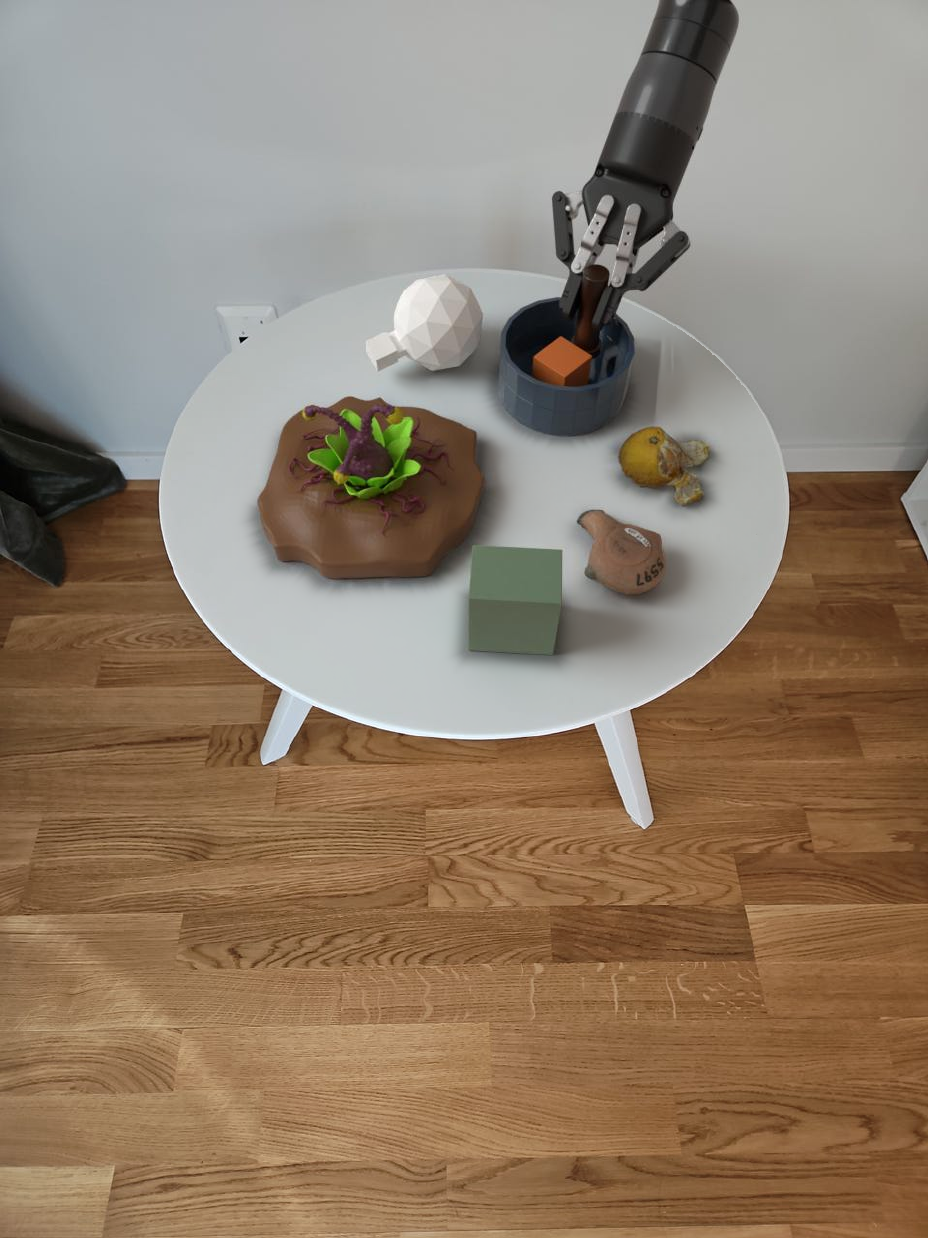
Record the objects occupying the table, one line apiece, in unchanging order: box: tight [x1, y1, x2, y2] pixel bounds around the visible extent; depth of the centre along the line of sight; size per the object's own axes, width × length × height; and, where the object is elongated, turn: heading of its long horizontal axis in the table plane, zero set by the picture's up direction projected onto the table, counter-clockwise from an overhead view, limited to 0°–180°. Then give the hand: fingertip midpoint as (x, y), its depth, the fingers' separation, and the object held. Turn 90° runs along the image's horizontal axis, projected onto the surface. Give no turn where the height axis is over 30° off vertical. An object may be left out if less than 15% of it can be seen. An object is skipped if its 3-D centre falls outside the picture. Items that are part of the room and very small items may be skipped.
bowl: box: [497, 296, 636, 437], centre depth 87 cm, size 13×13×6 cm
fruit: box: [617, 426, 710, 506], centre depth 83 cm, size 8×8×4 cm
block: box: [532, 336, 592, 387], centre depth 87 cm, size 4×4×4 cm
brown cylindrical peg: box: [571, 263, 611, 359], centre depth 85 cm, size 3×3×9 cm
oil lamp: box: [576, 509, 667, 595], centre depth 78 cm, size 9×4×8 cm
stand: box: [467, 544, 563, 656], centre depth 72 cm, size 7×5×8 cm
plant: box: [256, 395, 485, 579], centre depth 78 cm, size 20×20×11 cm
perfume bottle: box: [364, 273, 484, 373], centre depth 88 cm, size 9×9×12 cm
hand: (582, 322), depth 83 cm, fingers closed on brown cylindrical peg, 2 cm apart
